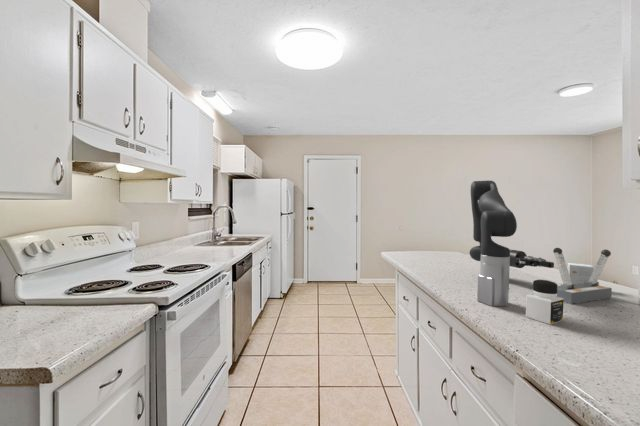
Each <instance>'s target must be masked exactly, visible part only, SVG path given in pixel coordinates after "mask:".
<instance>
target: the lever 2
mask: <svg viewBox="0 0 640 426" xmlns="http://www.w3.org/2000/svg"><path fill="white" fill-rule="evenodd" d="M611 255H612V252H611V251H610V250H608V249H602V250H601V251H600V256H599V257H598V259H597V261H596V264H595V266H594V270H593V272H592V275H591V277H590V279H589V281H588V282H590V283H592V286H595V285H596V283H597V282H599V278H600V276H601V274H602V271H603V270H604V268H605V266H606V263H607V261H608V259H609V257H610V256H611Z"/></svg>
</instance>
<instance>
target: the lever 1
mask: <svg viewBox="0 0 640 426" xmlns="http://www.w3.org/2000/svg"><path fill="white" fill-rule="evenodd" d="M552 251H553V254H554V257H555V258H554V259H555V261H556V265H557V267H558V268H557V269H558V271H559V274H560V278H561V281H562V284H563V285H568V289H571V288H573V285H572V282H571V279H570V276H569V273H568V265H567V263H566V259H565V257H564V254H563V250H562V248H560V247H555V248H553V250H552Z"/></svg>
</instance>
